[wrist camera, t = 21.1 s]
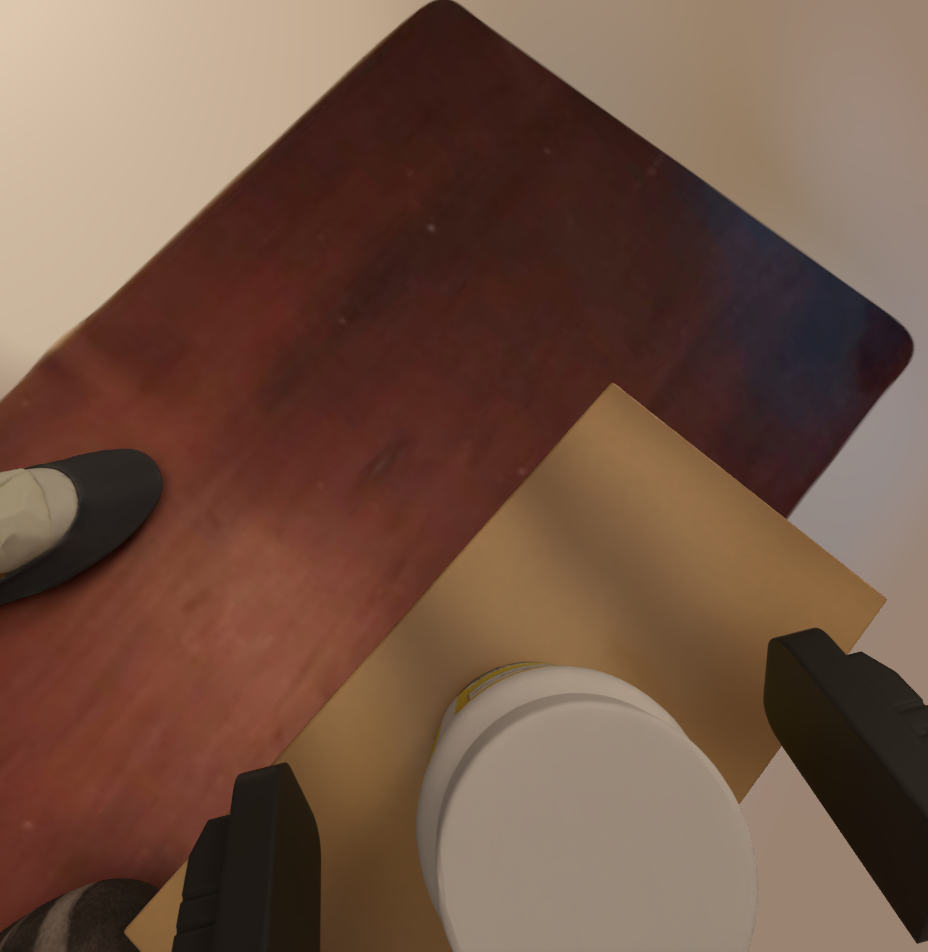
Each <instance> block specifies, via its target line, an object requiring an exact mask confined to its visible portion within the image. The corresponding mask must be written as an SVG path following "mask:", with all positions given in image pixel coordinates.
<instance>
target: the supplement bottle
mask: <svg viewBox="0 0 928 952" xmlns="http://www.w3.org/2000/svg"><path fill="white" fill-rule="evenodd" d="M416 840H417V847H418V855H419V860H420V865H421V870H422V875H423V879H424V882H425V885H426V888H427V891H428V893H429V896H430V898H431V901H432V903H433V905H434V907H435V910H436V912H437V913H438V915H439V917H440V919H441V921H442V924H443V927H444V931H445V934H446V937H447V940H448V942H449V945H450V947H451V950H452V952H748V950H749V946H750V943H751V939H752V935H753V931H754V926H755V921H756V913H757V902H758V878H757V867H756V860H755V853H754V848H753V845H752V841H751V837H750V833H749V830H748V826H747V824H746V821H745V819H744V816H743V814H742V811H741V809H740V806H739V804H738V802H737V800H736V798H735V796H734V794H733V792H732V791H731V789H730V788H729V786H728V784H727V783H726V781H725V780H724V778H723V777H722V775H721V774H720V772H719V771H718V769H717V768H716V767H715V765H714V764H713V763H712V762H711V761H710V760H709V759H708V757H707V756H706V755H705V754H704V753H703V752H702V751H701V750H700V749H699V748H698V747H697V746H696V745H695V744H694V743H693V742H692V741H690V740H689V738H688V737H687V735H686V734H685V733H684V731H683V730H682V728H681V727H680V726H679V725H678V723H677V722H676V721H675V719H674V718H673V717H672V716H671V715H670V714H669V713H668V712H667V711H666V710H665V709H664V708H662V707H661V706H660V705H659V704H658V703H657V702H655V701H654V700H653V699H652V698H650V697H649V696H648V695H646V694H645V693H643V692H642V691H640V690H639V689H637V688H636V687H634V686H633V685H631V684H629V683H627V682H625V681H623V680H621V679H619V678H617V677H615V676H612V675H610V674H607V673H604V672H600V671H597V670H593V669H588V668H584V667H577V666H567V665H560V664H551V663H540V662H519V663H512V664H508V665H504V666H501V667H497V668H495V669H493V670H490V671H488V672H486V673H484V674H483V675H481V676H479V677H478V678H476V679H475V680H473V681H472V682H471V683H469V684H468V685H467V686H466V687H465V688H464V689H463V690H462V691H461V692H460V693H459V694H458V695H457V696H456V698H455V699H454V700H453V702H452V703H451V704H450V706H449V707H448V709H447V711H446V713H445V714H444V716H443V719H442V721H441V723H440V725H439V728H438V730H437V733H436V736H435V739H434V742H433V746H432V750H431V754H430V759H429V762H428V765H427V768H426V770H425V773H424V776H423V780H422V784H421V788H420V793H419V798H418V805H417V812H416Z"/></svg>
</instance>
